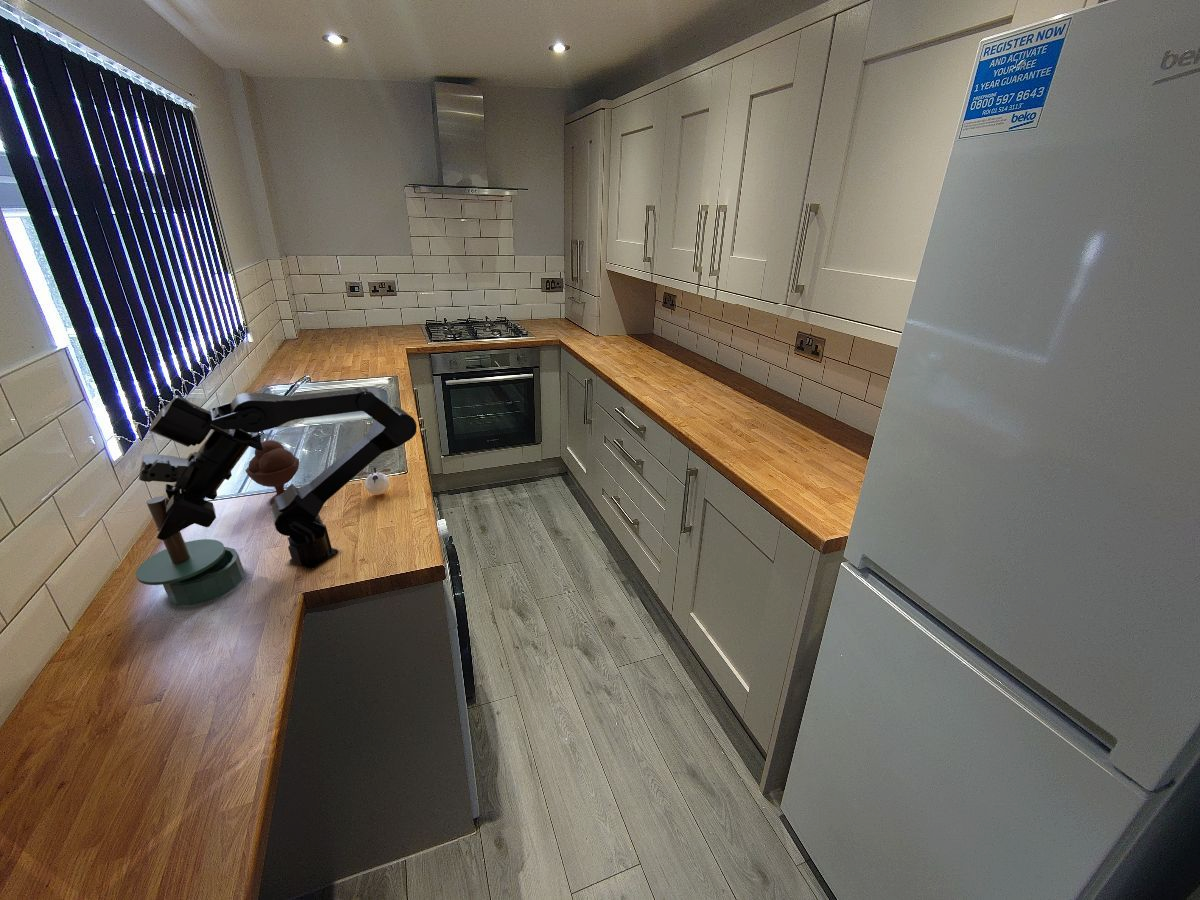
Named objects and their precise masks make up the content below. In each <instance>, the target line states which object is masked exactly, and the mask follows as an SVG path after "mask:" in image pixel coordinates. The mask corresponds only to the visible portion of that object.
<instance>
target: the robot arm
mask: <svg viewBox="0 0 1200 900" xmlns="http://www.w3.org/2000/svg"><path fill="white" fill-rule="evenodd" d="M356 412H363V413H365V414H367V415H368V416H369V417H370V418H372V419H373V422H372V423H371V425H370V427H369V429H368V431H367V433H366V434H365V436H363V437H362V438H361V439H360V440H359V441H358V442H356V443H355V444H354V445H353V446H352V447H350V448H349V449H348V450H346V452H344V453H343V454H342V455H341V456H340V457H338V459H336V460H335V461H334V462H333V463H331V464H330V465H329V466H328V467H327V468H326V469H325V470H323V471H322V472H321V473H320V474H318V475H317V476H316V477H315V478H314V479H313V480H311V481H310V482H309V483H308V484H306V485H303V486H301V487H296V485H294V484H293V483H291V484H289V485H288V487H287V488H286V489H284V490H285V491H284V492H283V493H282V494H280V495H278V496H276V497H274V498H275V502H274V503H273V504H271V505H270V516H271V518H272V521H273V524H274V527H275V530H276V532H278V533H279V534H281V536H286V537H287V541H288V546H287V548H288V551H289V555H290V559H289V561H288V562H289V563H290V564H292V565H294V566H298V567H301V568H306V569H308V570H314V569H316V568H317V567H319V566H320V565H322V564H323V563H325V562H326V561H328V560H329V559H331V558H332V557H333V556H336V555H337V554H338V553H339V550H338V549H337V548H333V547H332V543H331V540H330V536H329V532H328V528H327V525H326V524H324V522H323V520H322V517H321V516H320V512H321V511H322V509H323V507H324V505H325V504H326V502H328V500H330V499H331V498H332V497H333V496H334V495H336V493H338V492H339V491H340V490H341V489H342V488H343V487H344V486H346V485H347V484H348V483H349V482H350V481H352V480H353V479H354V478H355V477H356V476H358V474H360V473H362V471H363V470H365V468H367V467H368V466H369V465H370V464H371V463H372V462H373V461H375V460H376V459H377V458H378V457H379V456H380V455H382V454H383V453H385V452H389V451H391V450H394V449H396V448H399V447H401V446H402V445H404V444H405V443H407V442H408V441H410V440H412V439H413V438H414V436H415V435H416V433H417V427H418V426H417V421H416V420H415V418H414V417H412V416H411V415H410V414H409V413H407V412H406V411H405V410H404V409H403V408H401V407H398V406H390V405H388V404H387V403H386V402H384V401H383V400H382V399H380V398H379V397H377V396H376V395H375V394H374V393H373V392H372V391H370V390H369V389H368V388H367V387H363V386H359V387H356V388H352V389H342V390H332V391H323V392H314V393H305V394H295V395H294V394H293V395H281V394H275V393H270V392H269V393H268V392H267V393H265V392H243V393H239V394H238V395H236V396H235V397H234V398H233V400H232V401H230V402H226V403H223V404H219V405H218V406H213V407H210V408H209V409H208V410H207V409H205V408H204V407H201V406H199V405H196V404H195V403H192V402H190V401H189V400H188V399H187V398H184V397H183V396H181V395H178V394H177V395H175V396H174V397H173V398H172V400H170V401H169V402H167V404H166V405H165V406H164V407H162V408H161V409H160V410H159V411H158V413H157V414H156V416H155V417H154V418H153V420H152V421H151V424H150V425H149V427H148V431H149V432H151V433H153V434H156V435H158V436H160V437H162V438H166V439H168V440H170V441H173V442H175V443H177V444H180V445H182V446H184V447H187V448H188V447H190V446H193V447H196V446H197V445H200V444H202V443H203V444H202V445H201V447H200V448H199V449H198V451H194V452H190V454H189V455H188V456H187V458H185V457H178V456H172V455H164V454H155V453H144V454H143V455H142V459H141V464H140V469H139V475H138V480H139V481H140V482H147V483H151V482H161V483H166V484H165V494H166V495H167V496H166V497H167V499H165V506H166V513H167V516H166V518H165V520H164V523H163V525H162V527H161V529H160V531H158V528H157V529H156V531H157V532H158V533H157V536H156V539H158V540H160V541H163V540H165V539H167V538H169V537H171V536H172V535H174V534H176V533H178V532H179V531H180V532H181V531H183V530H185V529H187V528H188V527H190V526H193V525H194V524H195V525H198V526H201V527H204V528H210V527H211V525H212V524H213V522H214V521H215V520H216V519H217V515H216V509H215V505H214V504H213V503H214V502H212V501H215V500H216V498H217V496H218V489H219V488H220V487H221V486H222V484H223V483H224V482H225V480H227V481H229V480H230V479H231V477H232V471H233V469H234V468H235V467H236V465H237V464H238V462H239V461H240V460H241V458H242V457H243V456H244V454H245V453H246V451H247V450H248V449H249V448H250V447H251V448H253V449H254V450H255V449H257V450H259V451H262V450H263V446H262V444H261V443H262V435H261V434H260V433H261V432H265V431H268V430H271V429H274V428H277V427H278V428H279V427H280V426H282V425H284V424H287V423H289V422H292V421H295V420H301V419H309V418H317V417H325V416H332V415H338V414H339V415H340V414H347V413H348V414H350V413H356ZM211 430H212V432H211ZM210 432H211V433H210ZM208 435H209V436H208ZM206 438H207V439H206ZM204 440H205V441H204ZM168 483H172V484H168ZM205 498H207V499H209V500H211V501H209V500H206V499H205Z"/></svg>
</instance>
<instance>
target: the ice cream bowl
mask: <svg viewBox="0 0 1200 900" xmlns="http://www.w3.org/2000/svg"><path fill="white" fill-rule="evenodd" d="M261 444H262V446H263V450H262V451H259V450H257V449H255V448H254V456H253V457H252V458H251V460H249V462H248V466H247V468H246V469H245V473H246V474H247V476H248V477H249V478H250V479H251V480H252V481H253V482H255V483H256V484H258V485H260V486H262V487H268V488H274V489H275V492H276V494H275V495H273V496H272V497H271V499H270V500H269V503H270V504H271V505H272V504H273V503H274V502H275V498H274V497H276V496H278V495H280V494H282V493H283V492H284V491H285V490H286V489H285V487H284V485H285V484H288V483H289V482H291V480H293V478H294V476H295V475H296V474H297V472H298V470H299V466H300V459H299V458H298V457H297V456H295V455H294V454H293V453H292V451H290V450H288V449H286V448H285V447H284V446H283V443H281V442H279V441H277V440H273V439H272V440H269V439H268V440H264V441H261Z"/></svg>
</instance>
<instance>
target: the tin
mask: <svg viewBox="0 0 1200 900" xmlns="http://www.w3.org/2000/svg"><path fill="white" fill-rule="evenodd" d="M224 547H225V553H224V555H223V557H222V558H221V559H220V560H219V561H218V562H217V563H216V564H214V565H213V566H212V567H210V568H208V569H207V570H205V571H203V572H201V573H199V574H197V575H195V576H192V577H190V578H187V579H184V580H181V581H178V582H174V583H169V584H163V585H162V586H163V589H164V591H165V593H166V595H167V598H168V600H169V602H170V603H171V604H174V605H176V606H194V605H199V604H203V603H208V602H210V601H213V600H215V599H217V598H220V597H222V596H225V594H227V593H229V592H230V591H232V590H234V589H235V588H236V587H237V586H238V585H239V584H240V583H242V581H243V580H244V578H245V574H246V572H245V569H244V566H243V564H242V561H241V559H240V555H239V553H238V552H237V550H236V549H235V548H233V547H229V546H224ZM217 569H219V571H217V572H214V573H213V574H211V575H208V574H210V573H211V572H213V571H215V570H217ZM206 575H208V576H206Z"/></svg>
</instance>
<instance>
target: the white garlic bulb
mask: <svg viewBox="0 0 1200 900" xmlns="http://www.w3.org/2000/svg"><path fill="white" fill-rule="evenodd" d="M372 469H373V473H372V472H367V471H363V472H359V473H358V474H357V477H361V476H365V475H368V476H367V477H366V478H365V482H364V483H365V484H364V487H365V489H366V491H367V492H368V493H369V494H371V495H374V496H379V495H383V494H385V493H386V492H387V491H388V489H389V488H390V479H389V477H388V476H387V475H386V474H385V473H388V472H392V471H391V469H390V468H384V469H382V470H380V471H377V467H372Z"/></svg>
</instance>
